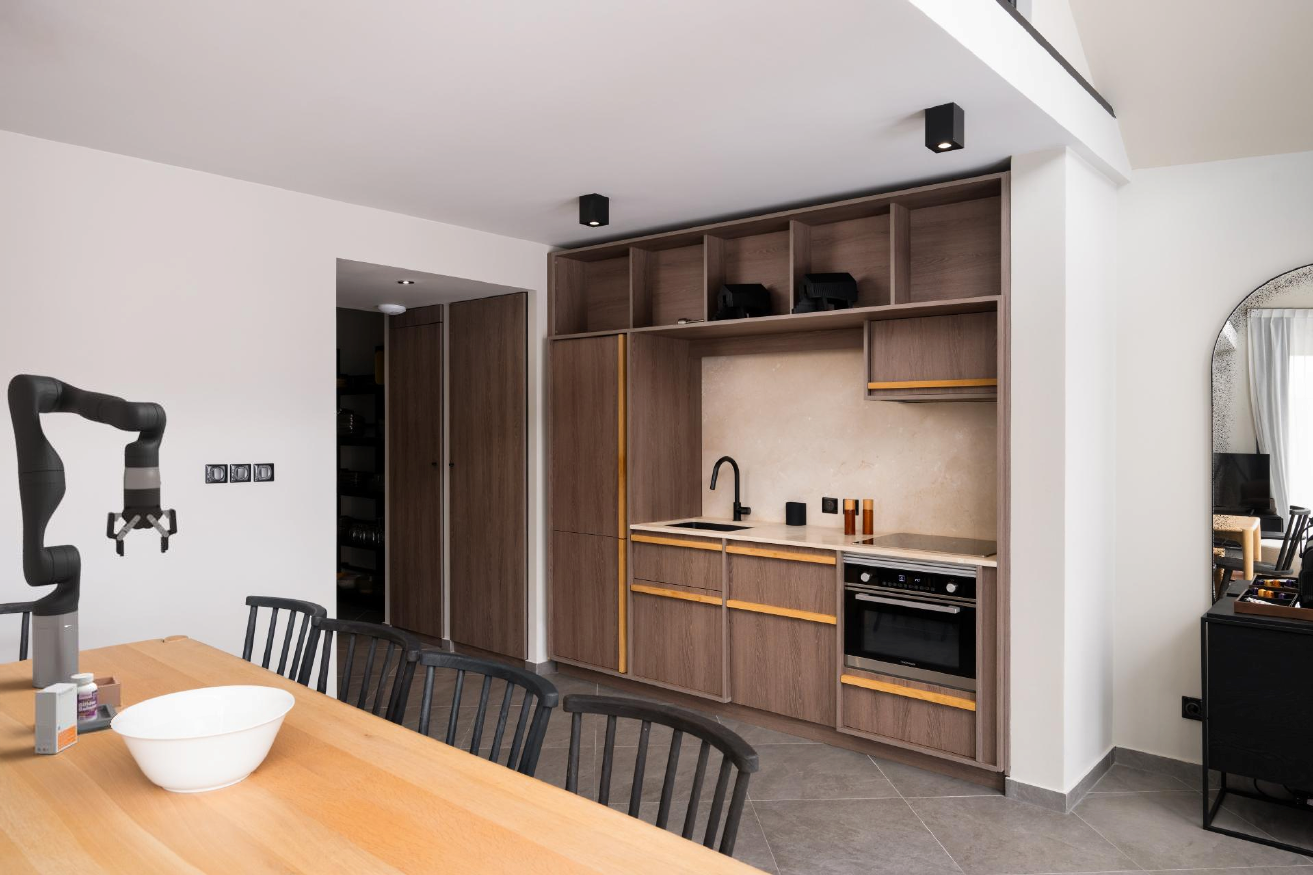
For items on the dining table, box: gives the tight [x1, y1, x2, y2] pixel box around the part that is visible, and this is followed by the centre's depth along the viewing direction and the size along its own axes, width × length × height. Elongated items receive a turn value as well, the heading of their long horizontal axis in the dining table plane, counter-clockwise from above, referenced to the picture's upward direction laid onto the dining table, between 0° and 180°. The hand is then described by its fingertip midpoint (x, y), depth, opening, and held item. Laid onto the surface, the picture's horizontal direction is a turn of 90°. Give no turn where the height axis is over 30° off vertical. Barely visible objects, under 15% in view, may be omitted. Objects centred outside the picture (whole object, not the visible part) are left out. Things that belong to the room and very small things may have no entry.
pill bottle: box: [71, 672, 97, 723], centre depth 180 cm, size 5×5×10 cm
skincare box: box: [34, 683, 78, 755], centre depth 167 cm, size 6×4×12 cm
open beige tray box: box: [92, 674, 122, 708], centre depth 192 cm, size 8×8×5 cm
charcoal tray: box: [77, 702, 118, 736], centre depth 180 cm, size 12×12×2 cm
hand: (142, 554), depth 203 cm, fingers open, 8 cm apart
